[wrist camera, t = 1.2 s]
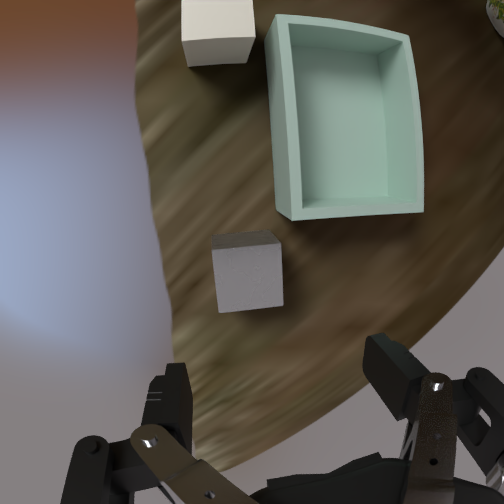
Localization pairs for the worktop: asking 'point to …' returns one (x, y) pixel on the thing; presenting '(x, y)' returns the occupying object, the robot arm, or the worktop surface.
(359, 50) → the tote
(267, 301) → the steel block
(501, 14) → the pitcher
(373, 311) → the worktop surface
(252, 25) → the cream box
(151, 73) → the worktop surface
